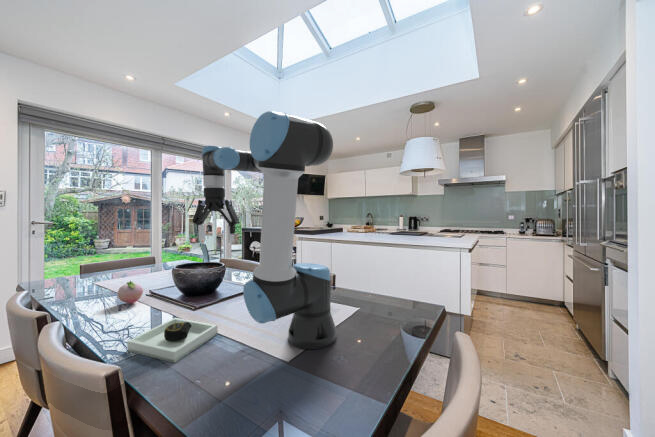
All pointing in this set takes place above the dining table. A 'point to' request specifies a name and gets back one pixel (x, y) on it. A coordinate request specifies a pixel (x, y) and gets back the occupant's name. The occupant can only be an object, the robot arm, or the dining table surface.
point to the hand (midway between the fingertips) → (216, 241)
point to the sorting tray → (171, 351)
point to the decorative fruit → (130, 292)
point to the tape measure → (177, 331)
